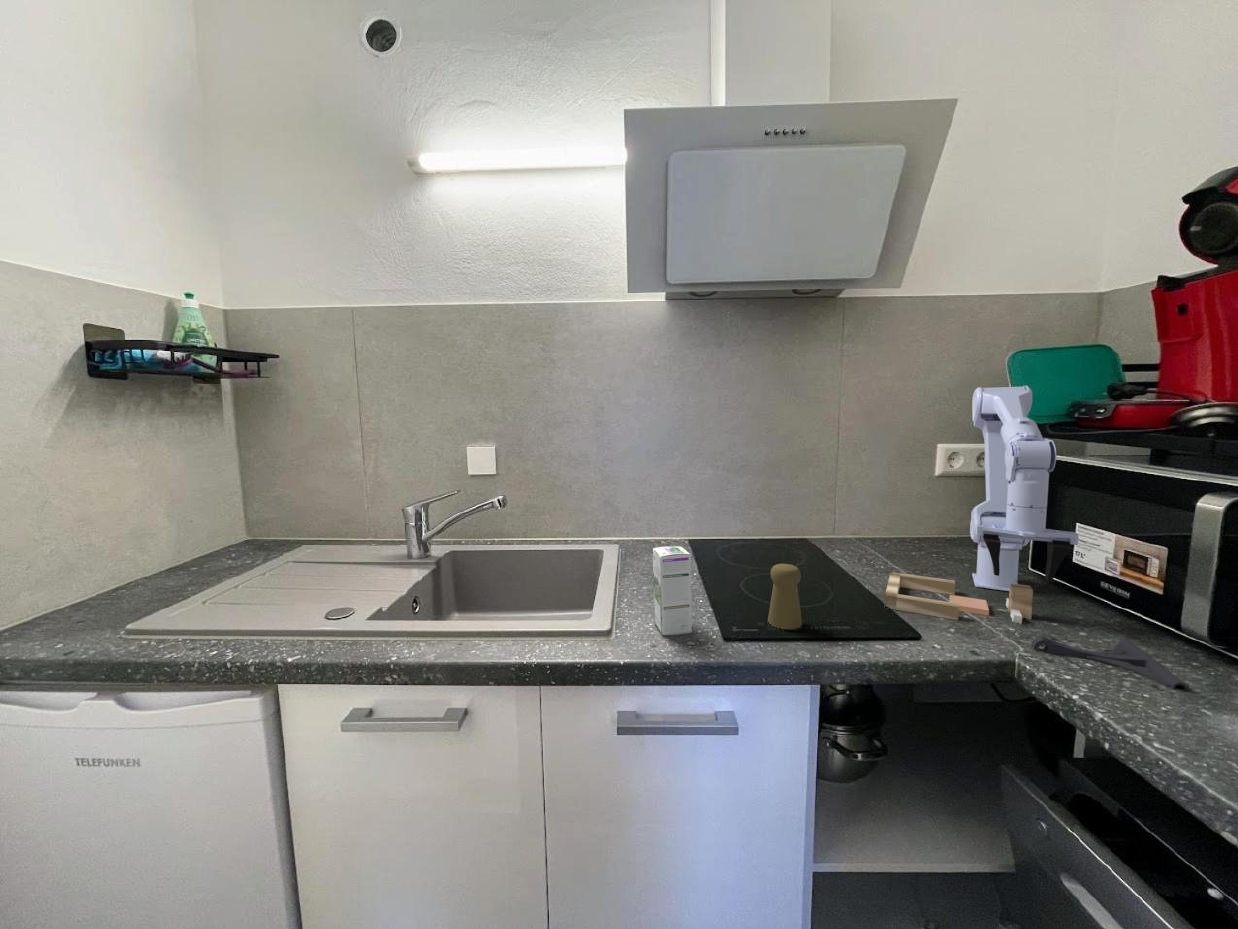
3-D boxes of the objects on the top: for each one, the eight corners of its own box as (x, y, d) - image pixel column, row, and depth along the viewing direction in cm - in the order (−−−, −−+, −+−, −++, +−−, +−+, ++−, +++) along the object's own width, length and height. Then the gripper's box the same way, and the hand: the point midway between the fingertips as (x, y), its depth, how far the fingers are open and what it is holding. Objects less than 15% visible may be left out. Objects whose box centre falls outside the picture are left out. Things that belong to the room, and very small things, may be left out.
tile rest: (890, 582, 112) (890, 572, 112) (954, 592, 105) (954, 580, 105) (884, 607, 97) (884, 595, 97) (958, 620, 91) (958, 607, 91)
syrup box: (693, 633, 87) (692, 552, 86) (660, 636, 86) (660, 555, 85) (682, 620, 93) (682, 544, 91) (652, 623, 92) (651, 546, 90)
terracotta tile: (949, 601, 101) (949, 594, 101) (985, 607, 98) (986, 600, 98) (950, 611, 96) (950, 604, 96) (988, 618, 93) (989, 610, 93)
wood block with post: (1005, 605, 98) (1007, 578, 98) (1025, 607, 96) (1027, 580, 96) (1013, 623, 90) (1014, 593, 89) (1034, 626, 88) (1036, 596, 87)
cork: (789, 615, 94) (790, 559, 93) (809, 628, 88) (810, 568, 87) (761, 619, 93) (762, 562, 92) (779, 632, 87) (780, 571, 86)
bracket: (1017, 635, 86) (1018, 619, 86) (1131, 649, 80) (1132, 633, 80) (1049, 675, 73) (1051, 657, 73) (1188, 696, 67) (1190, 677, 67)
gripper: (979, 505, 92) (975, 577, 93) (1085, 512, 84) (1079, 590, 85) (976, 500, 97) (973, 567, 99) (1074, 506, 90) (1069, 579, 91)
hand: (1021, 577), depth 92 cm, fingers open, 7 cm apart
